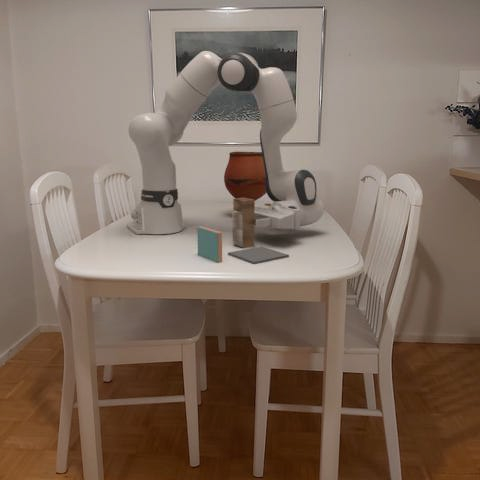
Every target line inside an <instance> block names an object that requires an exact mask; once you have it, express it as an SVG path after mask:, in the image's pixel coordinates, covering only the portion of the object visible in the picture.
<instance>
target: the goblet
mask: <svg viewBox="0 0 480 480" xmlns="http://www.w3.org/2000/svg"><path fill="white" fill-rule="evenodd" d="M223 176H224V177H223V182H224V186H225V189H226V190H227V191H228V193H229V195H231V196H232V197H233V199H236V198H249V199H254V205H255V203H256V202H255V201H258V200H259V199H261V198H262V197H263V196H265V195H266V194H267V192H266V188H265V168H264V162H263V156H262V151H257V152H256V151H230V152H229V157H228V162H227V165H226V168H225V170H224V175H223Z"/></svg>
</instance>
